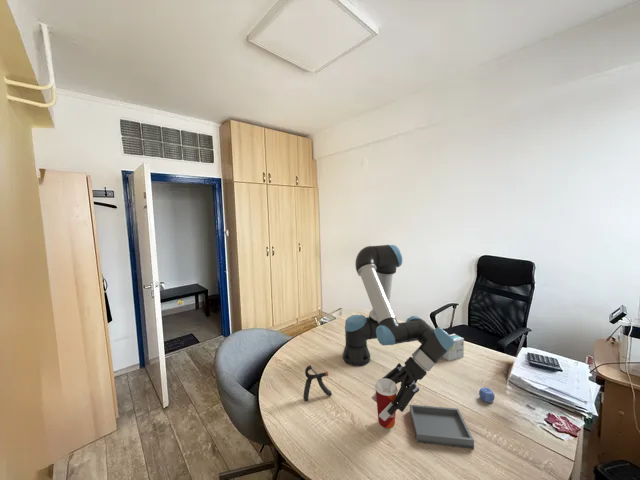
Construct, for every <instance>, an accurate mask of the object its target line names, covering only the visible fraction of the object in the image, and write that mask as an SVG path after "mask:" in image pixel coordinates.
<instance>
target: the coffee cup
mask: <svg viewBox="0 0 640 480" xmlns="http://www.w3.org/2000/svg"><path fill="white" fill-rule="evenodd" d="M374 390H375V393H376V398H377V403H376V408H377V409H376V410H377V420H378V423H379V425H380V426H381V427H382V428H384V429H392V428H394V427H395V425H396V411H397V410H396V411H395V412H394V413H393V414H392V415H390V416H389V417H388V418H387V419H386V420H385V421H384V420H383V419H381V418H380V417H379V414H380V413H381V412H382V411H383V410H384V409H385V408H386V407H387V406H388V405H389V404H390V402H394V400H395V398H396V396H397V393H398V391H399V389H398V386H397V384H395V382H394V381H392V380H390V379H387V378H383V377H381V378H380V379H377V380H376V382H375V384H374Z"/></svg>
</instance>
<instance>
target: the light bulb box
mask: <svg viewBox="0 0 640 480" xmlns="http://www.w3.org/2000/svg"><path fill="white" fill-rule="evenodd" d="M449 335H450V336H451V337H452V338H453V339H454V344H453V346H452V347H451V348H450V349H449V351H448V352H447V353H446V354H445V355H444V356H443V357H442V358H444V359H445V360H446V361H448V362H449V361H453V360H457V359H461V358H464V356H465V355H464V354H465V353H464V351H465V350H464V349H465V347H464V345H465V338H464V337H461V336H460V335H458V334H456V333H452V334H451V333H450V334H449Z"/></svg>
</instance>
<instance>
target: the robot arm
mask: <svg viewBox="0 0 640 480" xmlns="http://www.w3.org/2000/svg"><path fill="white" fill-rule="evenodd" d="M354 263H355V270H356V273H357V275H358V276H359V277H360V278H361V280H362V283H363V285H364V289H365V291H366V293H367V296H368V299H369V302H370V304H371V306H372V310H370V311H369V313H368V316H367V317H366V316H365V315H363V314H353V315H350V316H348V317H347V318H346V319H345V324H344V333H345V335H344V336H345V345H344V348H343V352H342V361H343V362H345V363H346V364H347V365H349V366H354V367H363V366H366V365H367V364H369V363H370V361H371V354H370V351H369V347H368V344H367V343H368V342H367V341H368V340H369V341H370V340H375V339H376V340H377V342H378V343H379V344H380V345H381V346H394V345H398V344H403V343H410V342H416V341H417V342H419V343H420V345H419V346H418V348H417V349H416V350H414V351H413V353H412V354H411V356H409V357H408V358H407V359H406V360H405V361H404V366H403V365H402V364H401V363H400V362H398V363H397V364H396V366H395V367H394V368H392V369H391V371H389V372H388V373H387V374H386V375H384V376H383V377H382V378H387V379H390V380H392V381H394V382H395V384H396V385H398V383H400V387H399V389H398V391H397V394H396V398H395V400H394V402H390V404H389V405H388V406H387V407H386V408H385V409H384V410H383V411H382V412H381V413H380V414H379V417H380V418H381V419H383V420H384V421H385V420H386V419H387V418H388V417H389V416H390V415H392V414H393V413H394V412H395V411H397V410H399V411H400V412H401V413H402V412H404V411H405V409H406V408H407V406H408V405H409V403H410V401H412V400H413V398H414V396H415V395H416V394H417V393H418V392H419V391H420V388H419V387H418V386H417V382H418V380H419V381H421V380H422V379H424V377H425V376H427V374H428V372H429V371H431V370H432V369H433V367H434V366H435V365H436V364H437V363H438V362H439V360H441V359H442V358H444V357H443V356H444V355H445V354H446V353H447V352H448V351H449V349H450V348H451V347H452V346H453V344H454V339H453V338H452V337H451V336H450V335H451V334H449V333H448V332H447V331H445V330H444V329H443V328H441V327H439V326H437V327H436V328H433V327H431V326H430V325H429V324H428V323H427V322H426V321H425V320H424V319H423V318H421V317H419V316H418V315H411V316H410V317H408V318H406V321H405V322H398V320H397V317H396V316H395V313H394V311H393V308H392V306H391V304H390V301H391V300H390V299H391V292H392V282H393V275H395V274H396V273H397V268H400V267H401V266H402V264H403V256H402V252H401V250H400V248H399V247H398V246H397V245H394V244H383V245H381V244H380V245H367V246H365V247H363V248H361V250H360V251H359V252H358V254H357V255H356V259H355V262H354ZM371 399H372V400H373V401H374V402H376V404H377V398H376V392H375V393H374V394H373V395H372V396H371Z"/></svg>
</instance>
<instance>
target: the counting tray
mask: <svg viewBox="0 0 640 480" xmlns="http://www.w3.org/2000/svg"><path fill="white" fill-rule="evenodd" d="M409 413H410V414H409V415H410V418H411V422H412V427H413V431H414V434H415V440H416V443H418V444H419V443H421V444H429V445H437V446H445V447H446V446H447V447H456V448H464V449H472V450H473V449H475V439H474V437H473V436H472V434H471V431H470V430H469V426H468V425H467V424H466V421H465V420H464V418H463V416H462V413H461V412H460V409H459V408H454V407H442V406H432V405H431V406H430V405H420V404H409Z"/></svg>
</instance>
